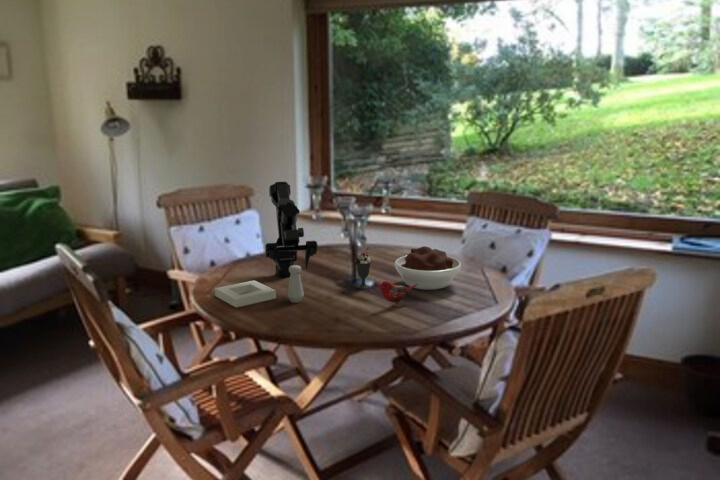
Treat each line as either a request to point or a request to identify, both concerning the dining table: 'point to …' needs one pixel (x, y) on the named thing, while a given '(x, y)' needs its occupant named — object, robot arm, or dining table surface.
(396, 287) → the decorative bird figurine
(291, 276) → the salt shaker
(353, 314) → the dining table surface
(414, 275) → the bowl of chocolate pudding
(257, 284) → the grey block
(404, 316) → the dining table surface
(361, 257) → the sundae
